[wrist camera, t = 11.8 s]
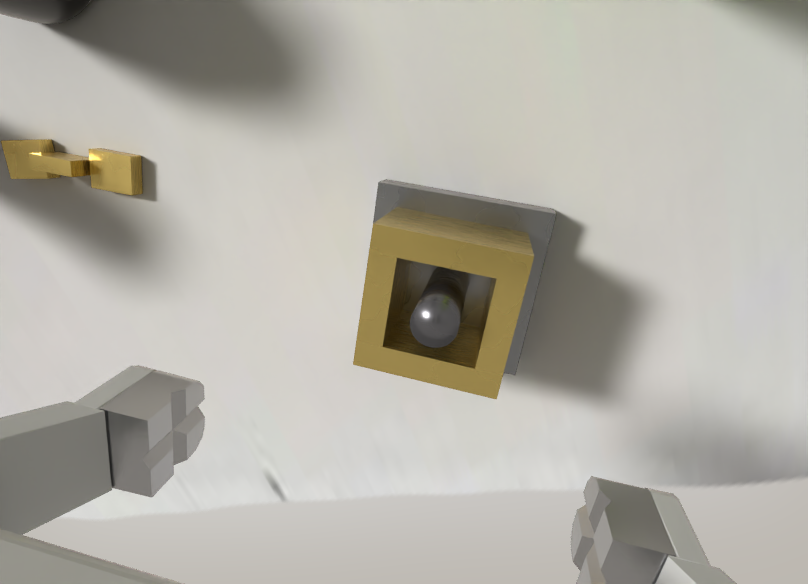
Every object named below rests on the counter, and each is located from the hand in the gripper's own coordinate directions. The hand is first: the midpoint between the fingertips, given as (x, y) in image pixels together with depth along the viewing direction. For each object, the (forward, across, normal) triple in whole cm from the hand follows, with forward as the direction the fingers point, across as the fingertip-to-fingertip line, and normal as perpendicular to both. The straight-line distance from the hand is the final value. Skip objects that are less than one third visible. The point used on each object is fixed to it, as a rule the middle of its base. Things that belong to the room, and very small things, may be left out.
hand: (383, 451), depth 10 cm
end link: (+14, 0, +1) cm, 14 cm away
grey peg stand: (+15, 0, +1) cm, 15 cm away
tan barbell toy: (+15, +21, -1) cm, 26 cm away
